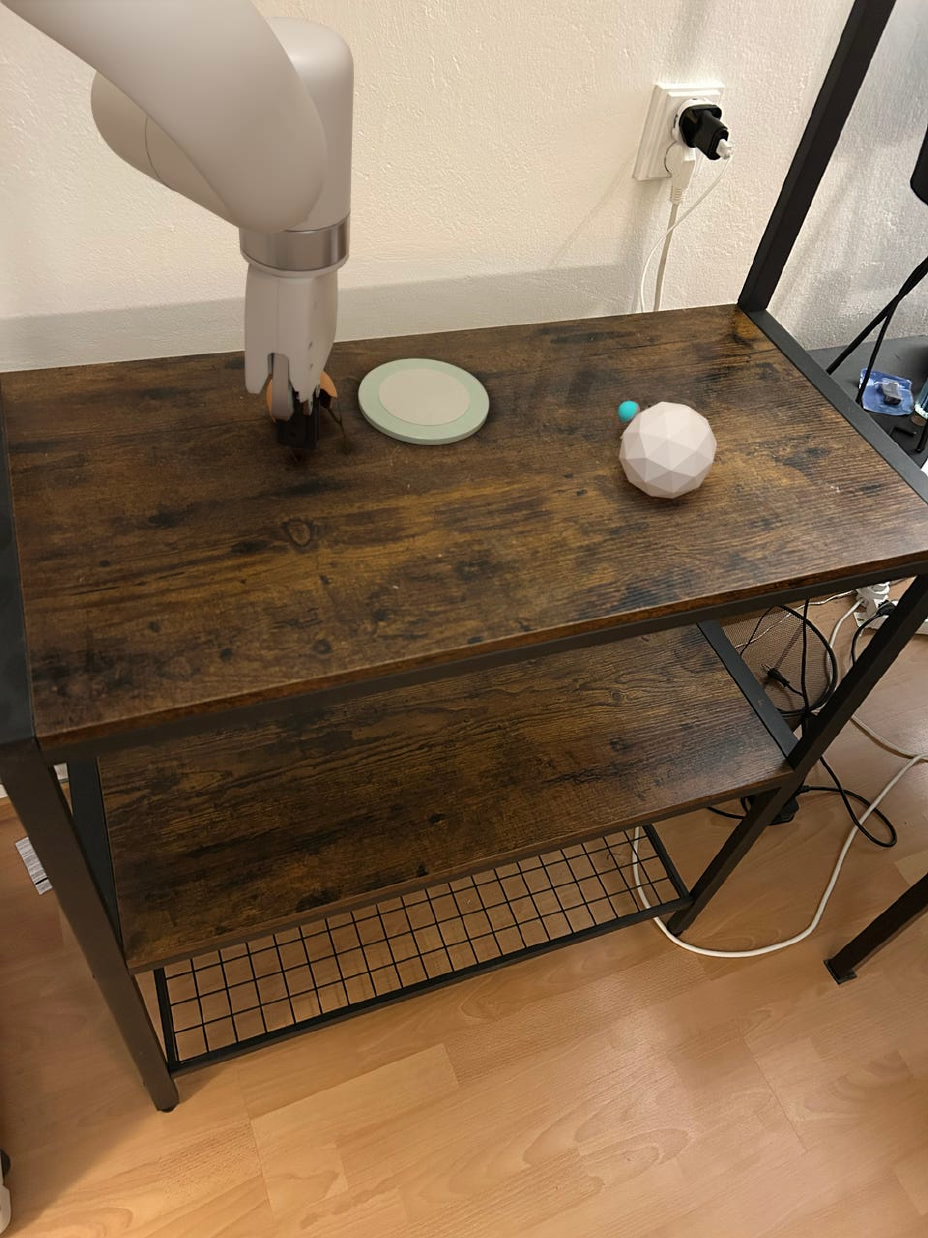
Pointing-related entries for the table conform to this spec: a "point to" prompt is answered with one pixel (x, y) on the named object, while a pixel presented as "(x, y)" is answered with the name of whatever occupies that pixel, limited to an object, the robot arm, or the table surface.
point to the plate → (423, 401)
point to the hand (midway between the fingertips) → (298, 441)
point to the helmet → (324, 396)
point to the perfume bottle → (665, 448)
